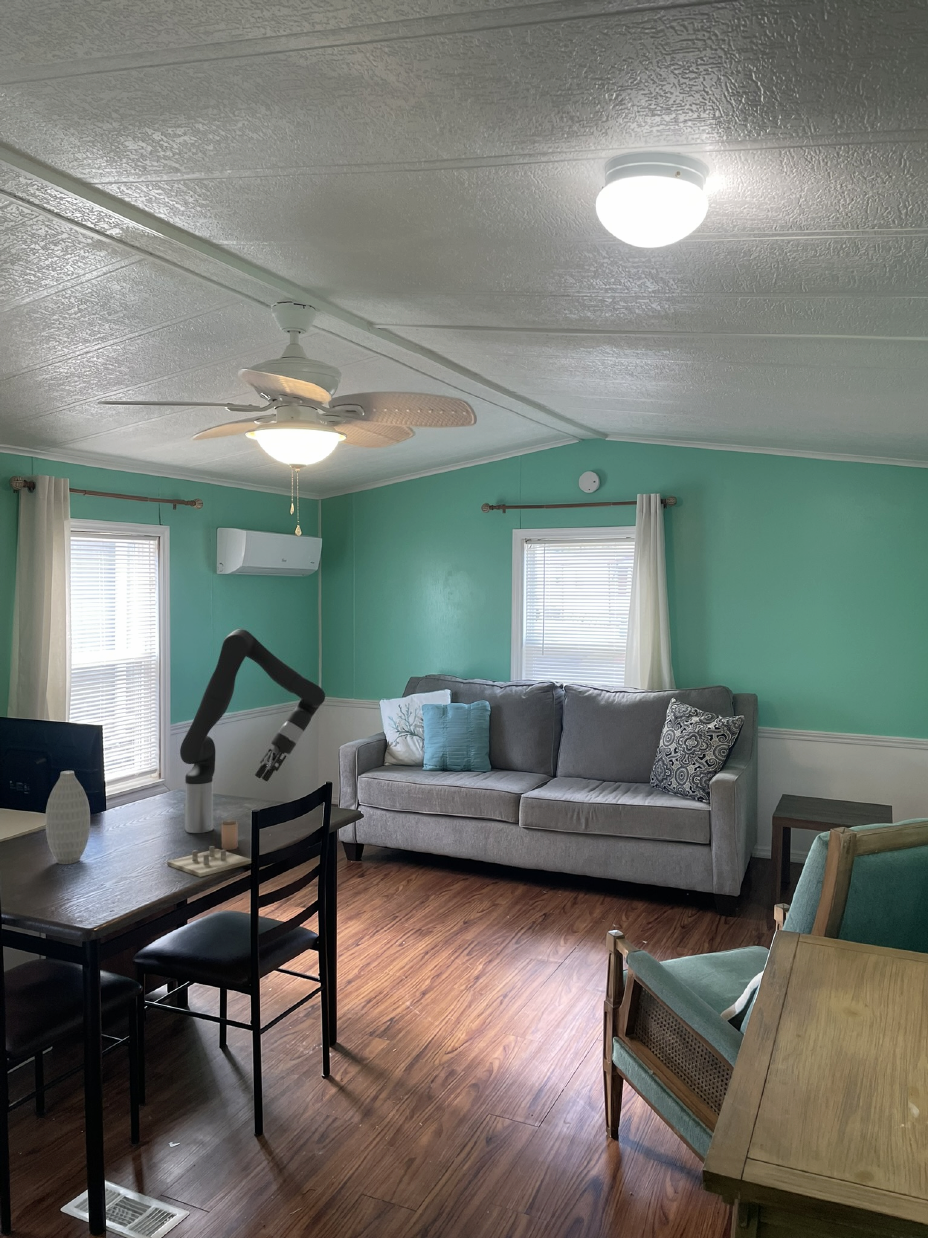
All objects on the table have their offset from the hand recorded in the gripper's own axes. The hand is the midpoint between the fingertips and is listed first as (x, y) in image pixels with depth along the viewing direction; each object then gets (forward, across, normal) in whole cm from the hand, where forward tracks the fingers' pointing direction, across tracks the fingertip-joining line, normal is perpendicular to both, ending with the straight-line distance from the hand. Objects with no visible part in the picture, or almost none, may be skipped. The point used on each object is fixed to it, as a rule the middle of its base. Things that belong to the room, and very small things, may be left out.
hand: (260, 778), depth 304 cm
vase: (+52, -8, -35) cm, 63 cm away
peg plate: (+30, +16, -4) cm, 35 cm away
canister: (+24, 0, +4) cm, 24 cm away
